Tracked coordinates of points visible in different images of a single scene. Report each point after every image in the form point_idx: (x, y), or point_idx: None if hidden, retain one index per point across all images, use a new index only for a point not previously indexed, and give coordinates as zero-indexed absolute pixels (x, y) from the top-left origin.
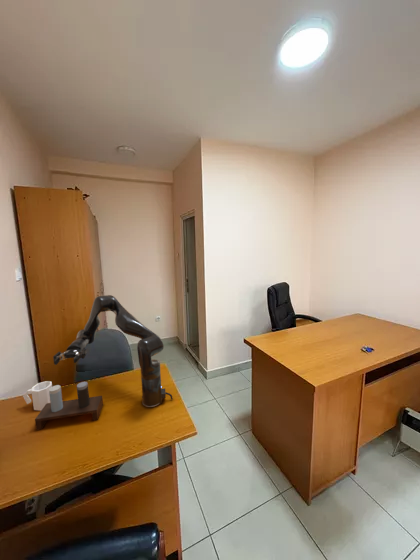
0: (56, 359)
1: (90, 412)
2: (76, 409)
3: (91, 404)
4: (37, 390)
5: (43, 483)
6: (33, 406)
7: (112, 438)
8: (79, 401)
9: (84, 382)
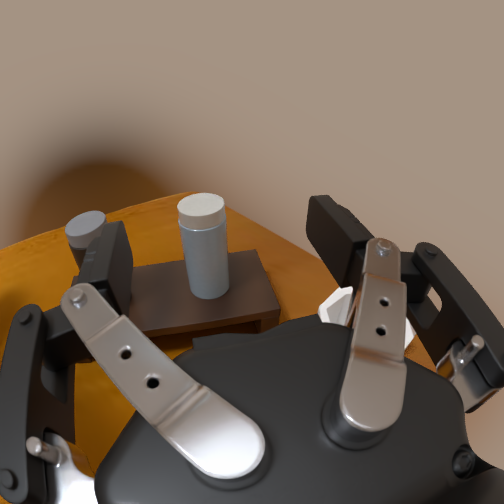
0: (330, 206)
1: None
2: (134, 279)
3: None
4: (350, 291)
5: (156, 203)
6: None
7: (58, 257)
8: None
9: (75, 231)
